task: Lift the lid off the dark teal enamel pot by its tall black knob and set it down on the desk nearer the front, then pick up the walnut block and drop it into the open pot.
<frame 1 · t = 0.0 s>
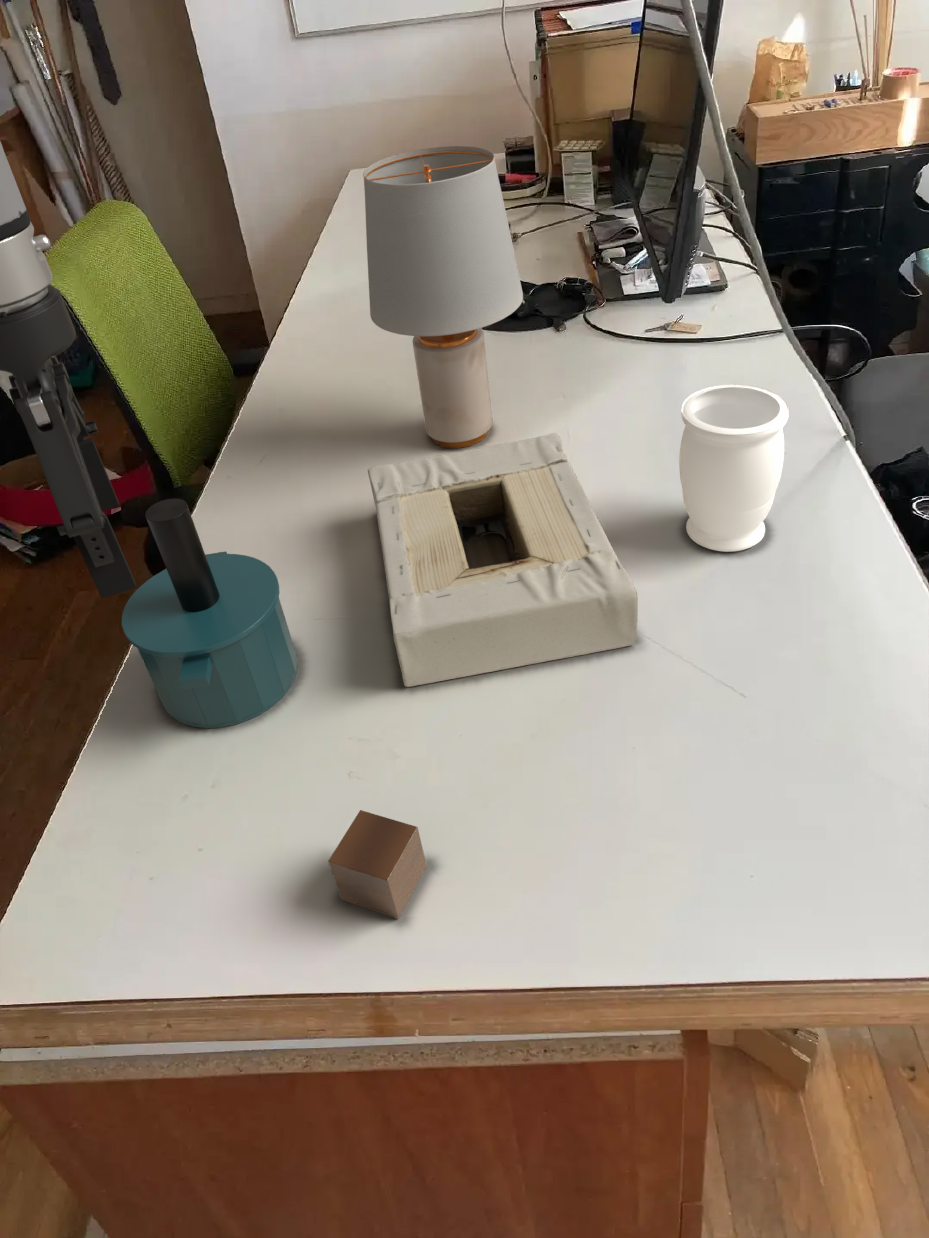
hand: (111, 547, 78), 19 cm above the table, tool pointing down, fingers open, 13 cm apart
pot: (230, 678, 93), on the table
jar: (724, 532, 102), on the table
lid: (202, 604, 87), point 9 cm above the table, touching pot
lamp: (463, 434, 126), on the table
box: (492, 575, 101), on the table
block: (384, 882, 72), on the table
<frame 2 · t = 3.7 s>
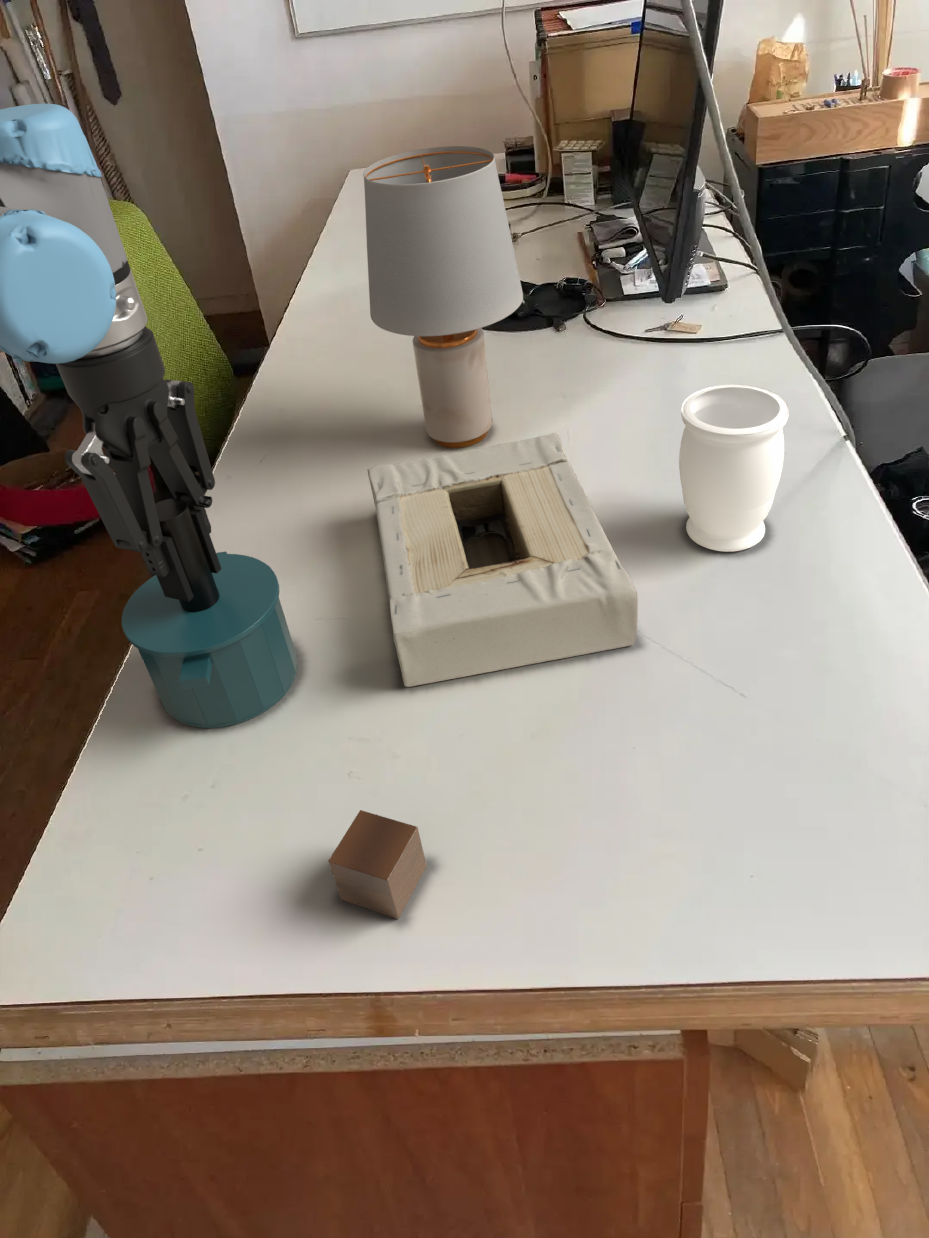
hand: (193, 582, 85), 12 cm above the table, tool pointing down, fingers closed on lid, 4 cm apart
lid: (202, 604, 87), point 10 cm above the table, touching gripper, pot
everything else where it was.
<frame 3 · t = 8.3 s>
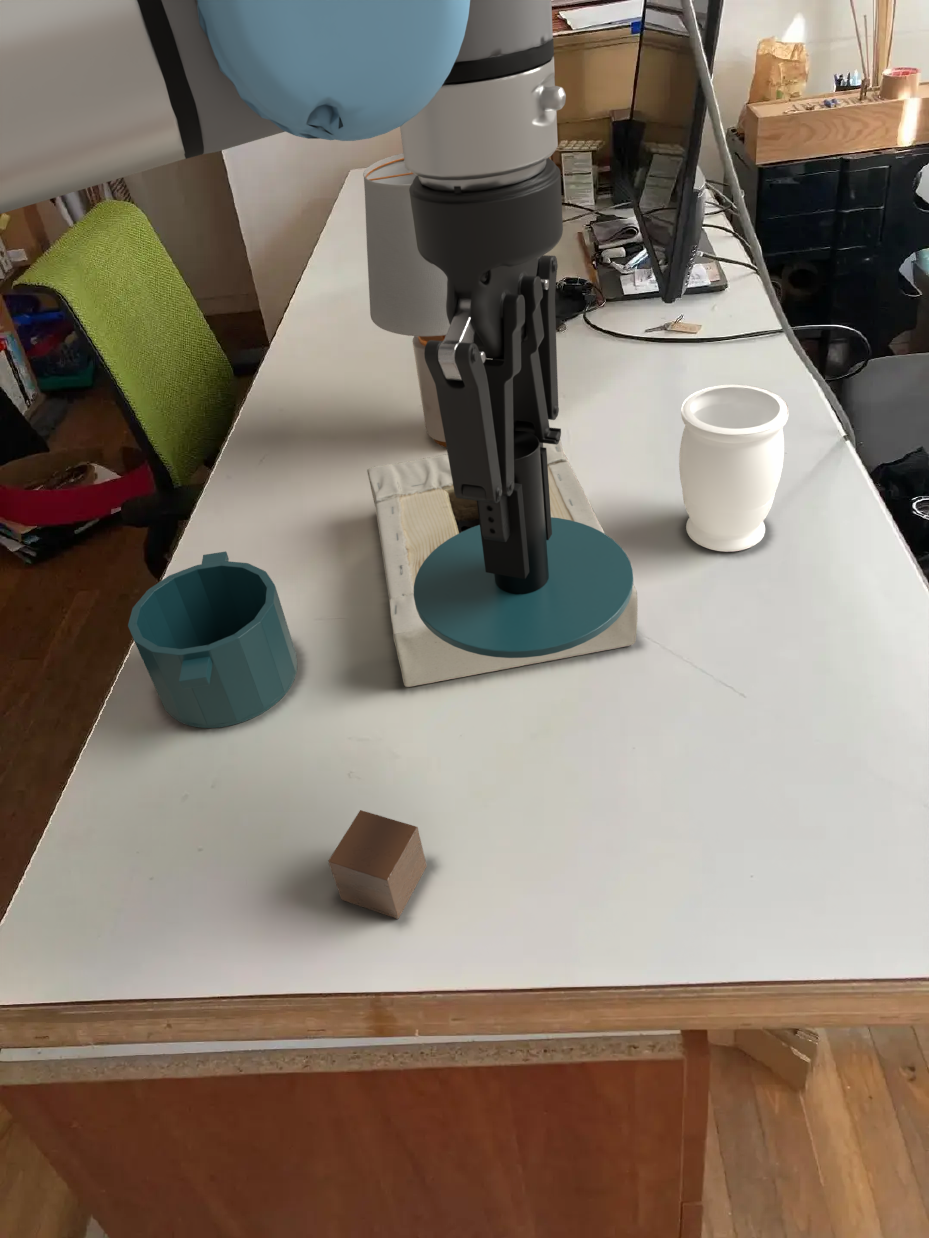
hand: (519, 552, 60), 25 cm above the table, tool pointing down, fingers closed on lid, 4 cm apart
lid: (522, 584, 62), point 23 cm above the table, touching gripper
everything else where it was.
when the fingers open (3 cm above the table, at t = 13.4 s): lid stays where it is, point 1 cm above the table.
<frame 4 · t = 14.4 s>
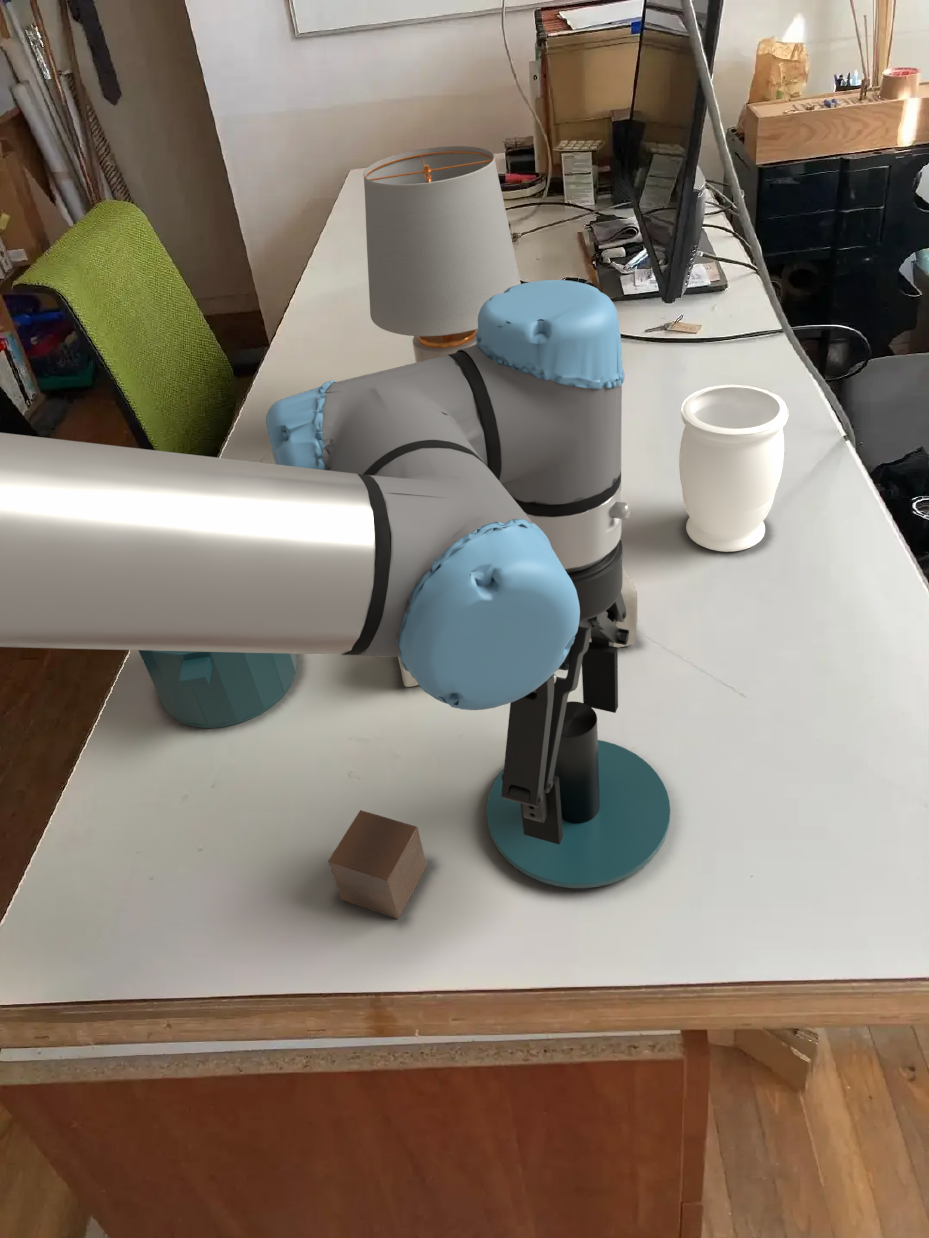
hand: (573, 767, 71), 6 cm above the table, tool pointing down, fingers open, 13 cm apart
lid: (577, 810, 75), point 1 cm above the table
everything else where it was.
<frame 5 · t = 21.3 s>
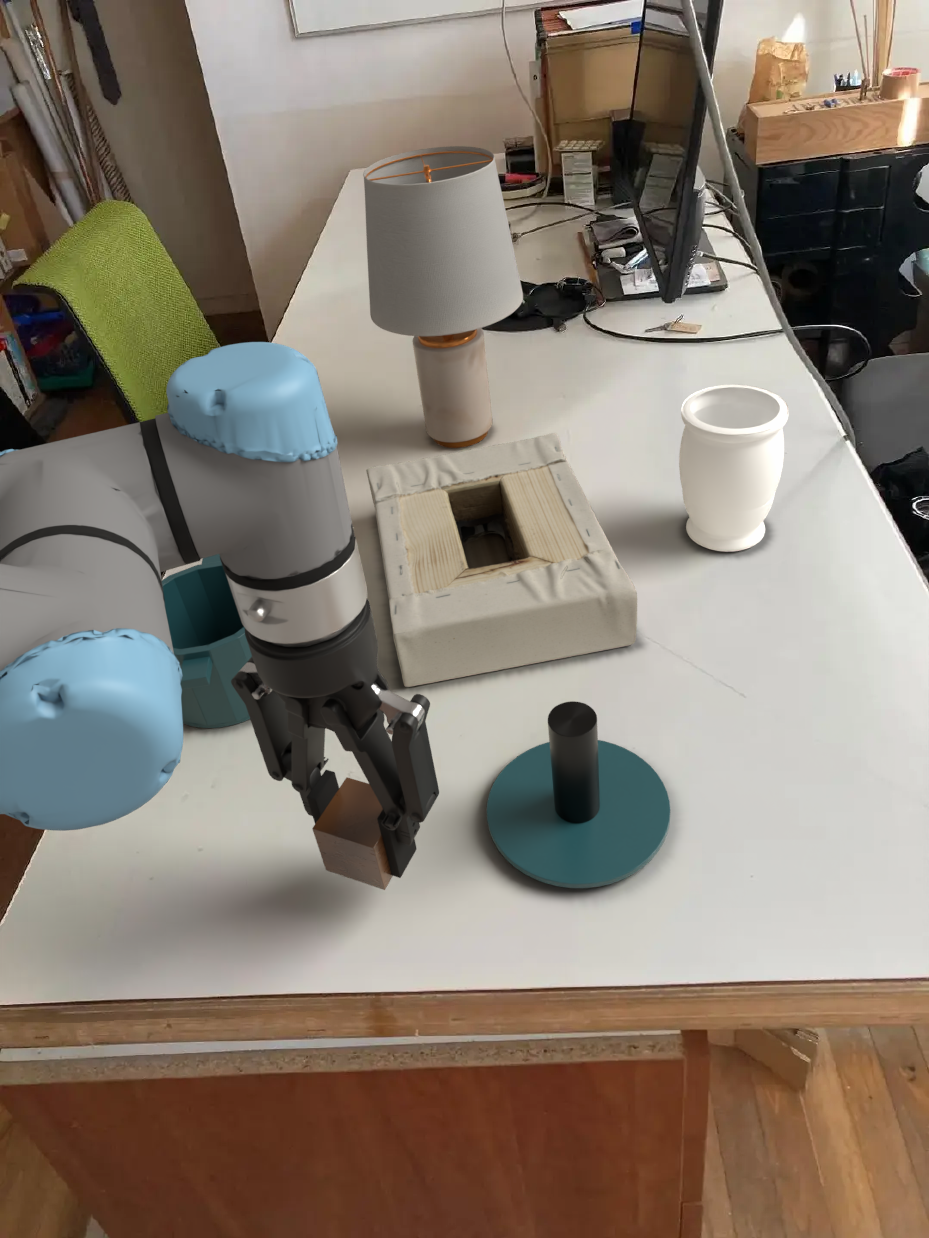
hand: (370, 850, 69), 4 cm above the table, tool pointing down, fingers closed on block, 5 cm apart
block: (371, 853, 70), point 4 cm above the table, touching gripper
everything else where it was.
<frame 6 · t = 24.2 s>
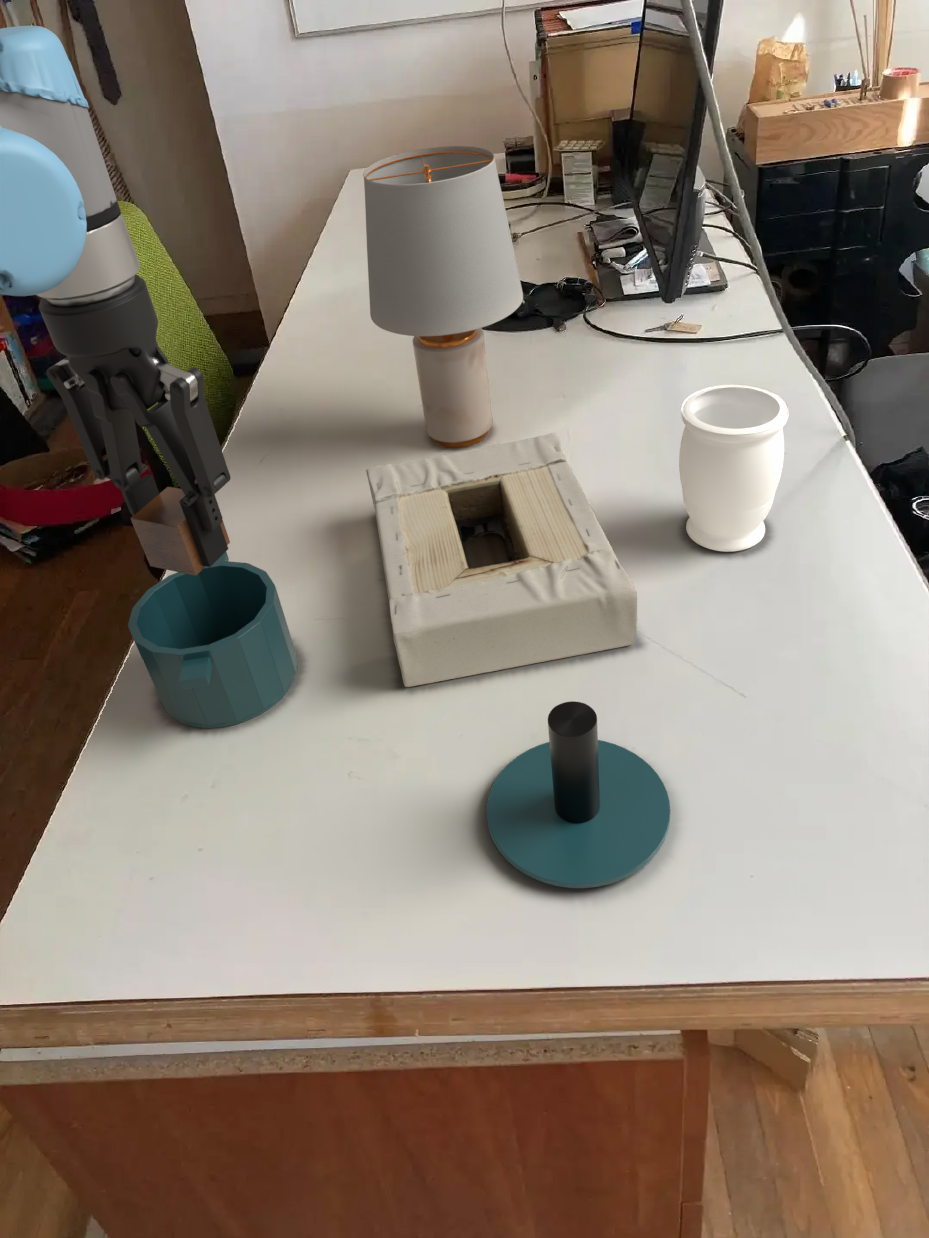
hand: (189, 551, 80), 17 cm above the table, tool pointing down, fingers closed on block, 5 cm apart
block: (190, 554, 81), point 17 cm above the table, touching gripper
everything else where it was.
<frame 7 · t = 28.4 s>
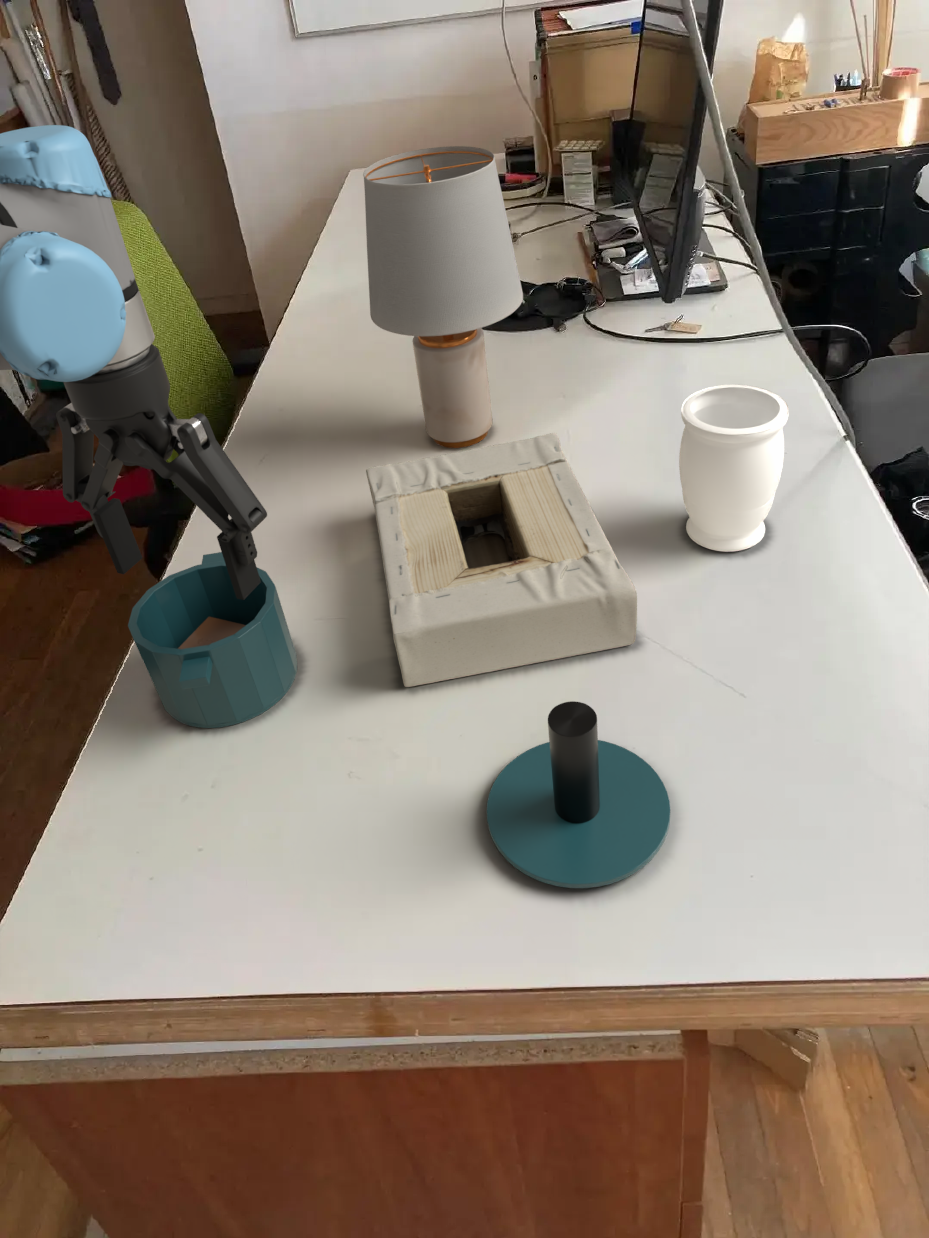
hand: (187, 577, 84), 13 cm above the table, tool pointing down, fingers open, 13 cm apart
block: (228, 674, 92), resting on pot
everything else where it was.
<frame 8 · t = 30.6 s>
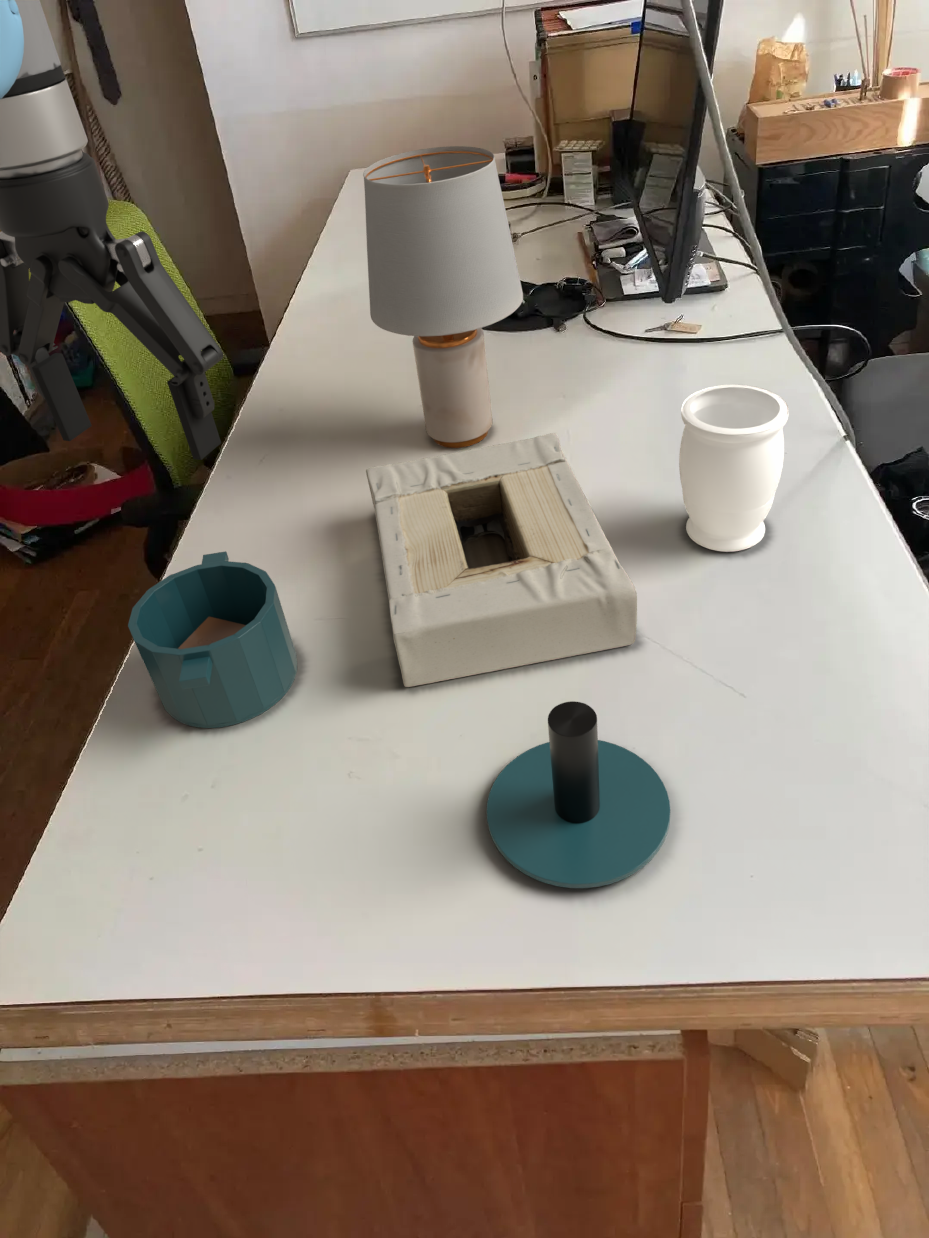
hand: (140, 442, 76), 27 cm above the table, tool pointing down, fingers open, 13 cm apart
nothing on the table moved.
at the end: lid inside the target area (0.0 cm from its centre), point 0.6 cm above the table; lid tilted 0°; block inside the target area in the pot (0.1 cm from its centre), point 0.5 cm above the pot's base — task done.
